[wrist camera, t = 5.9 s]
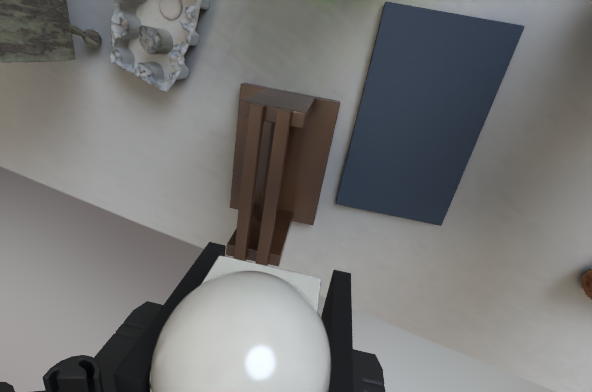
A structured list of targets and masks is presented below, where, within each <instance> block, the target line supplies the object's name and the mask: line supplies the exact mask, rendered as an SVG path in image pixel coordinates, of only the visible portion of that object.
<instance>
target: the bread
mask: <svg viewBox="0 0 592 392" xmlns="http://www.w3.org/2000/svg"><path fill="white" fill-rule="evenodd" d="M581 284H582V288H583V290H584V292H585V294H586V295H587V296H588V297H590V298H591V299H592V269H591V270H590V271H588V272H586V273H585V274H583V276H582V281H581Z"/></svg>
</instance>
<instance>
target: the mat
mask: <svg viewBox="0 0 592 392" xmlns="http://www.w3.org/2000/svg"><path fill="white" fill-rule="evenodd" d="M523 29H524V26H521V25H515V24H510V23H504V22H498V21H493V20H487V19H481V18H476V17H470V16H464V15H459V14H453V13H447V12H442V11H436V10H430V9H425V8H419V7H413V6H408V5H402V4H396V3H391V2H385V5H384V9H383V13H382V17H381V21H380V25H379V29H378V33H377V37H376V41H375V45H374V49H373V53H372V57H371V61H370V65H369V69H368V74H367V78H366V82H365V86H364V90H363V94H362V98H361V102H360V106H359V110H358V114H357V118H356V122H355V126H354V130H353V134H352V138H351V142H350V146H349V150H348V155H347V159H346V163H345V167H344V171H343V175H342V179H341V183H340V187H339V191H338V195H337V199H336V204H339V205H344V206H349V207H354V208H359V209H363V210H368V211H373V212H378V213H383V214H387V215H392V216H397V217H402V218H407V219H411V220H416V221H421V222H426V223H431V224H435V225H440V226H441V225H442V223H443V220H444V218H445V215H446V213H447V211H448V208H449V206H450V203H451V201H452V199H453V196H454V194H455V191H456V189H457V187H458V184H459V182H460V180H461V177H462V175H463V172H464V170H465V168H466V165H467V163H468V160H469V158H470V156H471V153H472V151H473V148H474V146H475V144H476V141H477V139H478V137H479V134H480V132H481V129H482V127H483V125H484V122H485V120H486V117H487V115H488V113H489V110H490V108H491V105H492V103H493V101H494V98H495V96H496V94H497V91H498V89H499V86H500V84H501V82H502V79H503V77H504V74H505V72H506V70H507V67H508V65H509V63H510V60H511V58H512V55H513V53H514V51H515V48H516V46H517V43H518V41H519V39H520V36H521V34H522V31H523Z"/></svg>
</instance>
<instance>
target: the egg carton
mask: <svg viewBox="0 0 592 392" xmlns="http://www.w3.org/2000/svg"><path fill="white" fill-rule="evenodd" d="M209 4H210V0H115V5H114V12H113V15H112V18H111V35H112V47H113V51H112V52H111V53H110V62H112V63H114V64H117V65H119V66H121V67H123V68H124V70H126V71H128V72H130V73H132V74H134V75H136V76H137V77H139V78H141V79H143V80H144V81H146V82H147V83H150V84H152V85H155V86H156V87H158V88H159V89H161V90H163V91H165V92H167V91H168V90H169V89H170V87H171V86H172V85H173V83H174V82H175V80H176V79H185V78H187V77H188V74H189V68H188V67H187V66H186V65H185V63H184V61H185V58H184V54H185V52H186V51H187V49H188V47H189V45H193V46H197V44H198V41H199V38H200V36H199V34H198V33H197V32H196V31H195V28H196V25H197V22H198V16H199V11H200V9H205V10H207V9H208V7H209Z"/></svg>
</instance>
